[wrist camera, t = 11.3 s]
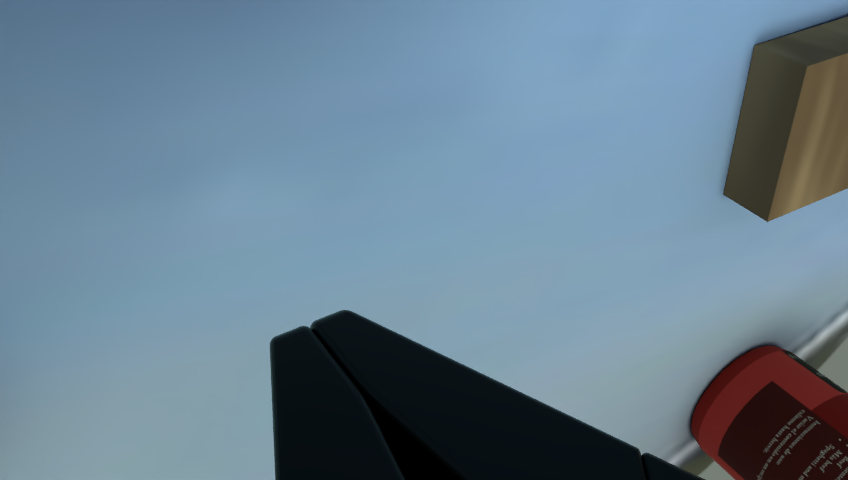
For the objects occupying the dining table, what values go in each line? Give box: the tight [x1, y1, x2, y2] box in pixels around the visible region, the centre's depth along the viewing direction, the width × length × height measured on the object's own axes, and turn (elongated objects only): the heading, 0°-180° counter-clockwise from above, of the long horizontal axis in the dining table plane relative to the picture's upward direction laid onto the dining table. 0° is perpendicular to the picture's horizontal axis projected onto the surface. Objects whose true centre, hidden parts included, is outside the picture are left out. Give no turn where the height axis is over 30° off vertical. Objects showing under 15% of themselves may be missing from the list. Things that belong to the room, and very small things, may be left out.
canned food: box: [691, 346, 848, 480], centre depth 41 cm, size 8×8×11 cm
